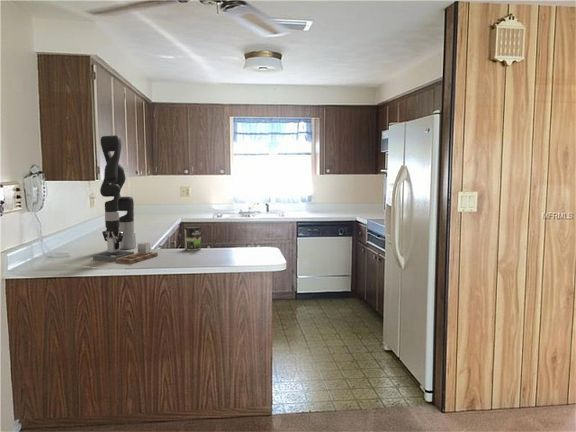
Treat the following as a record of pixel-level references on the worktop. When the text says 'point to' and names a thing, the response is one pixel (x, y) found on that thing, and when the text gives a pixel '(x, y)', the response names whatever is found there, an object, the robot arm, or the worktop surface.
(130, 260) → the pallet
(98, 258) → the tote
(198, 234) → the coffee can
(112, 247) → the block
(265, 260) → the worktop surface
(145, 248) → the block
